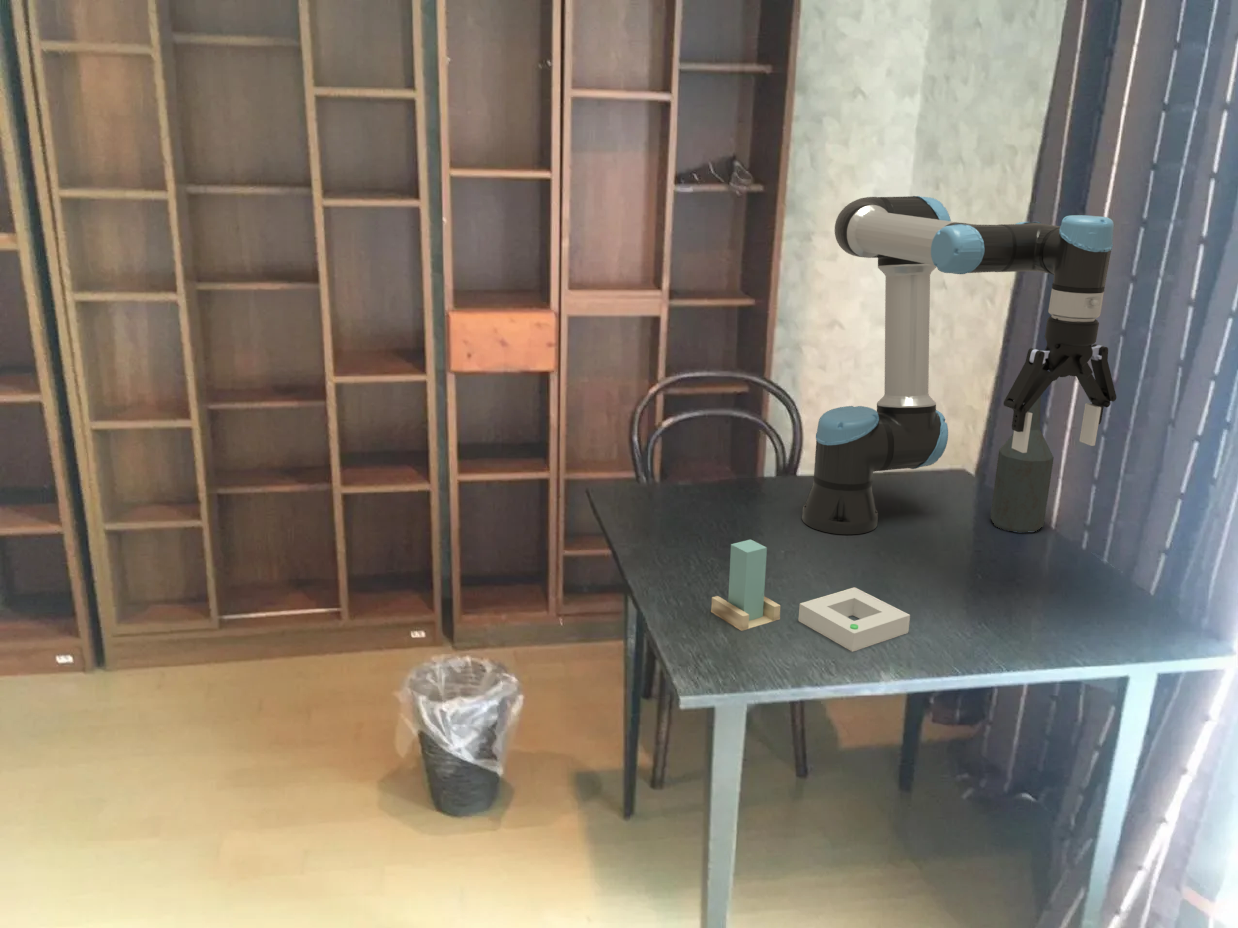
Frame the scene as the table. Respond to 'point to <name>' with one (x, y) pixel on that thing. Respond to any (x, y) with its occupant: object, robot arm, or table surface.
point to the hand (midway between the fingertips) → (1053, 447)
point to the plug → (747, 577)
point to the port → (834, 623)
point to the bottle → (1023, 481)
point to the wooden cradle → (744, 613)
